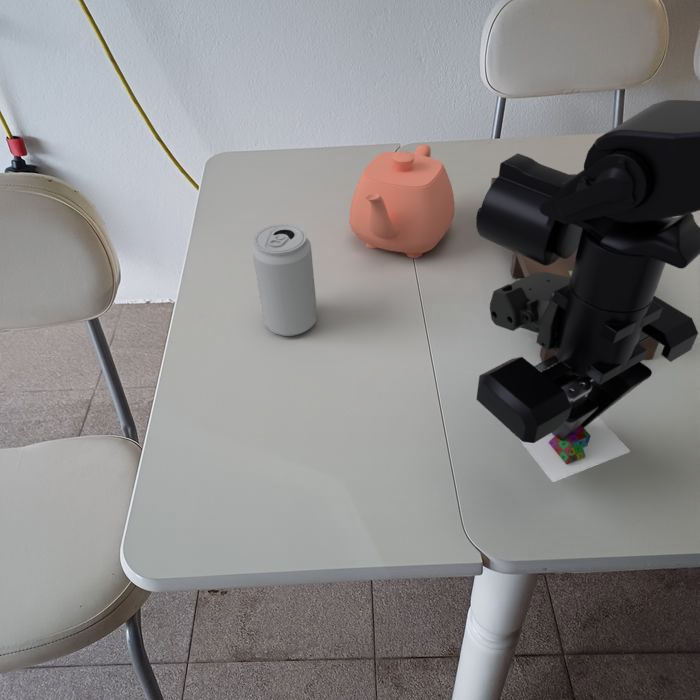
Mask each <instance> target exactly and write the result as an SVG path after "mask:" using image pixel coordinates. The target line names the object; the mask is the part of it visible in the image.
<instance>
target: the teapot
mask: <svg viewBox="0 0 700 700" xmlns="http://www.w3.org/2000/svg"><path fill="white" fill-rule="evenodd" d="M431 153H432V152H431V146H430V145H428V144H426V143H423V144H422V143H421V144H420V145H418V146H417V148H416V149H415V150H414V151H413V153H412V152H408V151H386V152H381V153H380V154H378V155H377V156H376V157H374V158H373V159H372V160H371V161H370V162H369V164H367V166H365V168H364V170H363V171H362V173H361V175H360V177H359V179H358V181H357V185H356V187H355V189H354V192H353V195H352V199H351V202H350V209H349V225H350V229H351V230H352V232H353V233H354V235H355V236H356V237H357V238H358V239H359V240H360V241H361V242H363V243H365V246H366V247H367V248H369V249H382V250H385V251H391V252H398V253H404V254H405V255H406V256H407V257H409V258H412V259H413V258H419V257H421V256H423V254H424V253H426V252H429V251H431V250H433V248H435V247H436V246H437V244H438V243H439V242H440V241H441V240H442V239H443V237H444V236H445V234H447V232H448V230H449V229H450V227H451V224H452V222H453V219H454V216H455V209H456V208H455V197H454V190H453V186H452V183H451V180H450V177H449V175H448V172H447V170H446V168H445V165H444V164H443V163H442V162H441V161H439V159H436V158H432V157H431Z"/></svg>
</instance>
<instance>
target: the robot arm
mask: <svg viewBox="0 0 700 700" xmlns="http://www.w3.org/2000/svg"><path fill="white" fill-rule="evenodd" d="M498 170H499V172H498V176H497V177H496V178H497V179H496V180H495V181H494V182H493V184H492V185H491V184H490V187H489V188H488V190H487V192H486V194H485V196H484V197H483V198H484V199H483V200H482V203H481V206H480V207H479V208H478V209H477V213H476V221H475V222H476V229H477V230H476V231H477V233H478V234H479V236H480V237H482V238H483V239H485V240H487V241H489V242H491V243H494V244H496V245H499V246H500V247H503V248H505V249H507V250H510V251H512V252H516V253H518V254H520V255H522V256H525V257H527V258H529V259H531V260H533V261H535V262H538V263H540V264H542V265H550V264H552V263H554V262H555V261H557V260H558V259H559V258H560V257H561V258H563V259H566V258H568V257H570V256H571V255H572V254H574V252H575V251H576V250H577V249H578V250H577V254H576V258H575V262H574V266H573V271H572V275H571V278H570V277H566V276H561V275H557V274H552V273H548V272H538V273H534V274H531V275H529V276H527V277H525V278H519V279H518V280H516V281H514V282H511V283H509V284H506V285H503V286H502V287H499V288H497V289H495V290H493V292H492V296H491V299H490V303H489V310H490V311H489V313H490V319H491V321H492V323H493V324H494V325H495V326H497V327H500V328H503V329H505V330H509V331H512V332H514V331H516V330H518V329H520V328H521V329H524V330H527V331H529V332H532V333H536V334H537V338H536V344H537V345H539V346H540V347H543V348H544V349H546V350H547V351H548V350H550V349H553V350H554V351H556V354H555V355H554V356H552V357H551V358H549V359H547V360H545V361H543V362H542V361H541V362H540V363H538V364H536V365H534V364H532V363H531V362H530V361H528V360H527V359H526V358H524V357H523V356H519V357H513V358H511V359H508V360H507V361H505V362H502V363H501V364H499V365H497V366H495V367H493V368H491V369H490V370H488V371H486V372H483V373H482V374H480V375H479V377H478V383H477V391H476V398H475V399H476V401H477V402H479V403H480V404H481V405H482V406H483V407H484V408H485V409H486V410H487V411H488V412H489V413H490V414H492V415H493V416H494V417H495V418H496V419H497V420H498V421H499V422H500V423H501V424H502V425H503V426H505V427H506V428H507V429H508V430H509V431H510V432H511V433H512V434H513V435H514V436H516V437H517V439H518V438H519V439H520V440H521V441H522V442H528V443H535V442H537V441H539V440H540V439H542V438H544V437H545V436H547V435H549V434H550V433H552V432H553V434H554V435H555V436H556V437H557V438H558V439H560V440H561V441H563V440H564V439H566V438H567V437H568V436H569V435H570V434H571V433H572V432H574V431H575V430H576V429H577V428H578V427H579V426H580V425H582V426H583V428H584V427H586V426H587V425H588V424H590V423H591V422H592V421H593V420H595V419H596V418H597V417H600V416H601V415H603V414H604V413H605V412H606V411H608V410H609V409H610V408H612V406H614V405H615V404H616V403H618V402H620V400H621V399H622V398H624V397H625V396H626V395H629V394H630V393H631V392H633V390H634V389H636V388H637V387H638V386H640V385H641V384H642V383H644V382H645V381H647V380H648V379H650V377H651V376H652V375H653V371H652V369H651V368H650V367H649V366H647V365H646V364H644V363H642V361H643V359H644V357H645V354H646V351H647V349H645V348H644V347H643V346H642V345H641V344H639V343H641V342H642V341H644V340H646V339H648V338H649V337H651V338H653V339H654V340H656V341H658V342H659V344H661V345H662V346H663V349H662V351H661V354H660V355H661V357H663V358H664V359H666V360H667V361H668V362H671V363H672V362H673V361H675V360H676V359H678V358H680V357H681V356H683V355H685V354H686V353H688V352H690V351H691V350H692V349H693V346H694V344H695V341H696V339H697V338H698V334H699V331H698V329H697V326H696V324H695V322H694V320H693V318H692V317H691V316H689V315H687V314H686V313H684V312H682V311H681V310H680V309H678V308H676V307H675V306H672V305H671V304H669V303H667V301H666V302H665V301H664V300H662V299H661V298H659V297H658V296H657V295H655V294H656V292H657V289H658V285H659V283H660V280H661V277H662V275H663V272H664V270H665V269H664V268H665V266H666V264H667V265H670V266H671V267H672V266H673V267H675V268H677V269H680V270H681V269H685V268H687V267H688V266H689V265H690V264H691V263H692V262H693V261H694V260H695V259H696V258H698V257H699V256H700V226H699V225H698V224H697V222H696V220H695V218H694V217H695V216H694V214H693V213H696V212H699V211H700V100H688V99H666V100H663V101H660V102H657V103H653V104H651V105H649V106H648V107H646V108H645V109H643V110H641V111H640V112H638V113H636V114H635V115H633V116H632V117H630V118H628V119H626V120H625V121H624V122H622V123H620V124H618V125H617V126H615V127H614V128H612V129H611V130H609V131H608V132H606V133H604V134H603V135H601V136H599V137H597V138H596V139H595V141H594V142H593V144H592V145H591V147H590V148H589V149H588V150H587V154H586V155H585V160H584V163H583V170H581V171H580V172H578V173H576V175H575V176H572V175H569V173H566V172H563V171H561V170H558V169H555V168H552V167H550V166H546V165H544V164H541V163H539V162H538V161H537V160H535V159H533V158H531V157H529V156H526V155H524V154H521V153H515V154H514V155H512V156H510V157H509V158H507V159H505V160H504V161H502V162H500V164H499V169H498ZM644 360H645V359H644ZM519 439H518V440H519ZM520 440H519V441H520ZM521 441H520V442H521Z"/></svg>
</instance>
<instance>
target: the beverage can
mask: <svg viewBox="0 0 700 700" xmlns="http://www.w3.org/2000/svg"><path fill="white" fill-rule="evenodd" d="M307 236H308V235H307V233H306V231H305V230H304V229H303V228H302V227H300V226H298V225H295V224H291V223H289V224H288V223H277V224H272V225H269V226H265V227H264V228H262V229H260V230H259V231H258V232H257V233H256V234H255V236H254V239H253V242H254V244H253V245H252V249H251V250H252V251H251V252H252V253H251V254H252V257H253V263H254V270H255V276H256V281H257V283H256V284H257V287H258V289H257V290H258V294H259V295H258V296H259V300H260V307H261V312H262V319H263V323H264V326H265V327H266V328H267V330H269V331H270V332H272V333H274V334H276V335H279V336H283V337H294V336H298V335H301V334H303V333H305V332H306V331H308V330H310V329H311V328H312V327H314V325H315V324H316V322H317V319H318V309H317V297H316V287H315V286H316V285H315V276H314V275H315V274H314V262H313V253H312V244H311V241H310V240H309V239H308V237H307Z"/></svg>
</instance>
